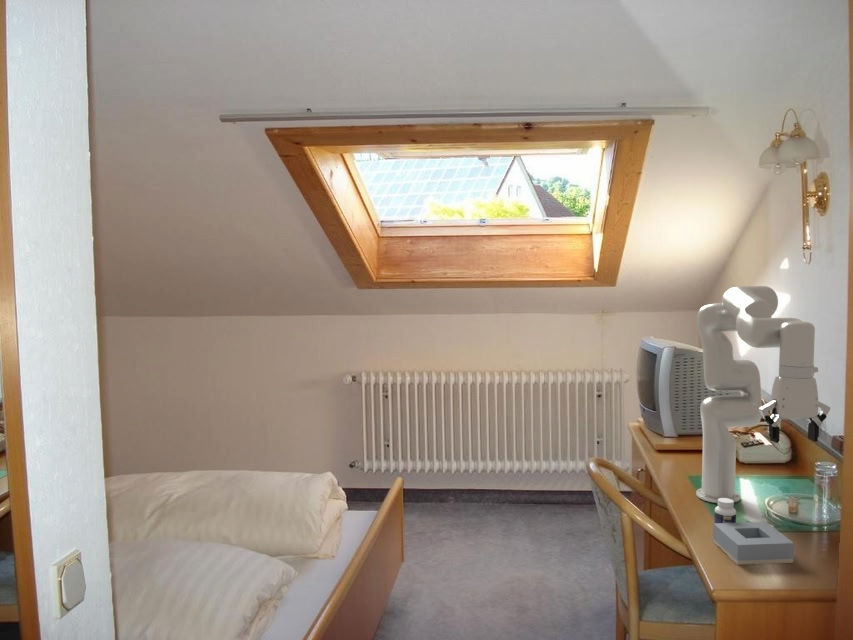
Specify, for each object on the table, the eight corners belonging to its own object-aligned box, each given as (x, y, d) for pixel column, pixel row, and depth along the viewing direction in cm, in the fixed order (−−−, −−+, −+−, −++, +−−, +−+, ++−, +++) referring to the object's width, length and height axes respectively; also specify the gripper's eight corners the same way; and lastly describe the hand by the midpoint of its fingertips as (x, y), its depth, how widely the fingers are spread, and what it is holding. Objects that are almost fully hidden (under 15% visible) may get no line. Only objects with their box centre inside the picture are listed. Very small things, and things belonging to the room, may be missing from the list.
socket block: (712, 541, 196) (713, 523, 195) (764, 540, 197) (765, 521, 196) (737, 564, 182) (737, 545, 181) (793, 562, 183) (793, 543, 182)
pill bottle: (722, 540, 197) (723, 504, 196) (709, 532, 202) (710, 497, 201) (739, 537, 198) (741, 502, 197) (726, 530, 203) (727, 495, 202)
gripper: (821, 368, 185) (818, 436, 187) (753, 370, 185) (751, 438, 186) (839, 374, 178) (836, 443, 180) (769, 375, 177) (767, 446, 179)
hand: (793, 440), depth 183 cm, fingers open, 9 cm apart
